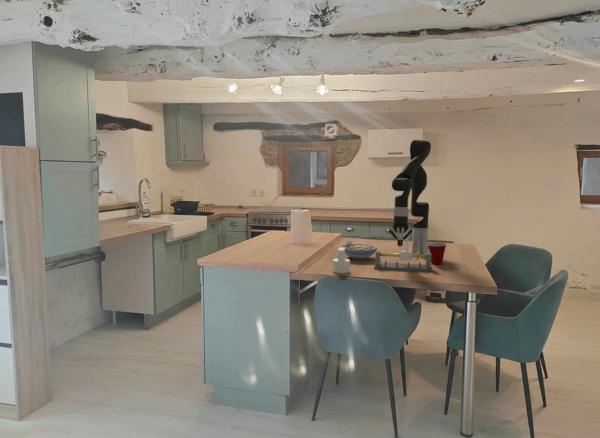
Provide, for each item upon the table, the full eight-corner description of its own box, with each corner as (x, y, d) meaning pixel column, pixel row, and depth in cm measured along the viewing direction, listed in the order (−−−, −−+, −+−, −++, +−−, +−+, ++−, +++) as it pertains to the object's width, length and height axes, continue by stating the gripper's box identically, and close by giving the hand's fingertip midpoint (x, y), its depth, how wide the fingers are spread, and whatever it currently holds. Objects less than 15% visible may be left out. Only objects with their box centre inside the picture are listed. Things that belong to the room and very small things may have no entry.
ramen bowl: (377, 263, 256) (377, 249, 255) (337, 261, 261) (337, 247, 260) (378, 255, 281) (378, 242, 280) (342, 253, 285) (342, 241, 284)
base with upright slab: (349, 273, 232) (349, 250, 231) (332, 272, 234) (332, 250, 232) (350, 269, 241) (350, 247, 240) (333, 268, 243) (333, 247, 241)
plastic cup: (425, 261, 262) (426, 241, 261) (444, 262, 260) (445, 241, 259) (427, 265, 251) (427, 244, 250) (447, 266, 249) (448, 245, 248)
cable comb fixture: (374, 268, 242) (374, 253, 241) (375, 264, 254) (375, 249, 253) (431, 271, 236) (432, 255, 235) (430, 267, 247) (430, 251, 246)
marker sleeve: (400, 260, 242) (401, 239, 241) (400, 258, 247) (401, 237, 245) (411, 260, 241) (412, 239, 240) (411, 259, 245) (412, 238, 244)
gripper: (388, 215, 240) (387, 247, 242) (413, 216, 237) (412, 248, 239) (388, 213, 247) (388, 244, 249) (413, 214, 244) (412, 245, 246)
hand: (400, 246), depth 244 cm, fingers closed
